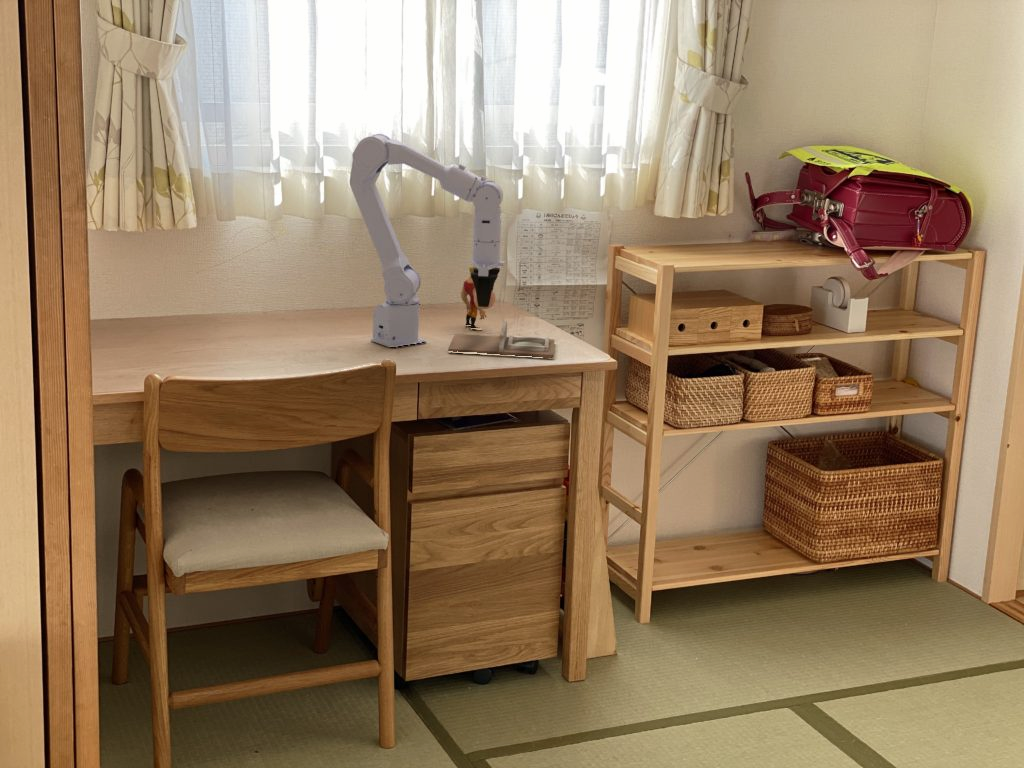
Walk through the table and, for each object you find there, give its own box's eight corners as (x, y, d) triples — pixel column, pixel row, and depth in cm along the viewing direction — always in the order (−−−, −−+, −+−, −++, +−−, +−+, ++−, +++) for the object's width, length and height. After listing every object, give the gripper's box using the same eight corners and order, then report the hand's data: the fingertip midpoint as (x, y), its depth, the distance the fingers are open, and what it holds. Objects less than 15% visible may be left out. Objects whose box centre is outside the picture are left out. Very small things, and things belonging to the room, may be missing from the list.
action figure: (488, 332, 271) (491, 267, 267) (474, 333, 269) (476, 267, 265) (472, 323, 279) (474, 259, 275) (458, 324, 278) (460, 260, 274)
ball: (483, 311, 252) (483, 290, 251) (468, 308, 255) (469, 286, 254) (499, 309, 255) (500, 288, 254) (485, 305, 258) (486, 284, 257)
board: (448, 353, 251) (448, 332, 249) (454, 338, 264) (455, 318, 263) (553, 359, 250) (554, 338, 249) (554, 343, 263) (555, 323, 262)
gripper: (503, 246, 244) (501, 312, 248) (507, 236, 258) (505, 298, 261) (469, 244, 244) (467, 310, 248) (474, 234, 258) (472, 296, 262)
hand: (484, 304), depth 255 cm, fingers closed on ball, 5 cm apart
